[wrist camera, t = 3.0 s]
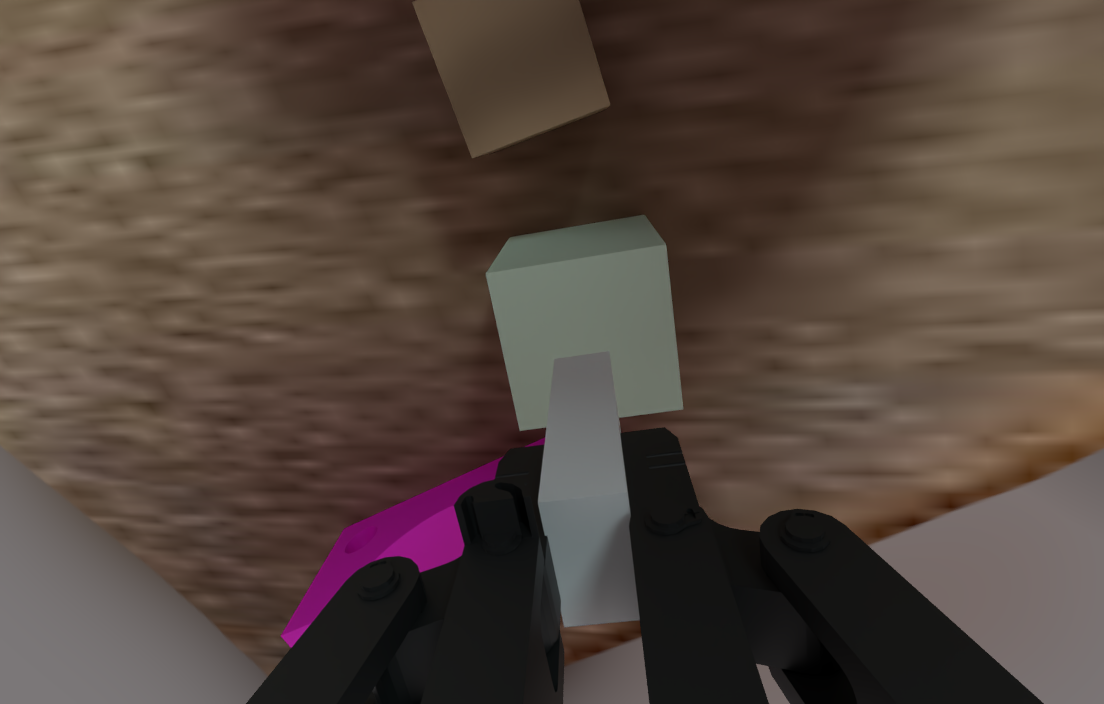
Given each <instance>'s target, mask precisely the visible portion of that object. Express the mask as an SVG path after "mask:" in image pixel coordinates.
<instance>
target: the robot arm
mask: <svg viewBox="0 0 1104 704" xmlns="http://www.w3.org/2000/svg"><path fill="white" fill-rule="evenodd" d="M454 509H455V512H456V516H457V520H458V523H459V527H460V531H461V534H462V538H463V542H464V549H463V552H462V555H461V556H460V557H458V558H457V559H455V560H453V561H451V562H448V563H446V564H443V565H441V566H438V567H435V568H432V569H429V570H426V571H423V572H420V571H419V568H418V565H417V564H416V563H415V562H414V561H413V560H412V559H410V558H406V557H402V556H393V557H385V558H382V559H379V560H376V561H373V562H370V563H369V564H367V565H365V566H363V567H362V568H360V569H358V570H357V571H356V572H355V573H354V574H353V575H351V576H350V577H349V578H348V579H347V580H346V581H345V582H344V584H343V585H342V586H341V587H340V589H339V590H338V591H337V592H336V594H335V595H334V596H333V597H332V598H331V600H330V601H329V602H328V603H327V605H326V606H325V607H324V608H323V610H322V611H321V612H320V613H319V614H318V616H317V617H316V618H315V619H314V621H313V622H312V623H311V624H310V626H309V627H308V628H307V629H306V630H305V632H304V633H303V634H302V635H301V637H300V638H299V639H298V640H297V642H296V643H295V644H294V645H293V647H292V648H291V649H290V650H289V651H288V653H287V654H286V655H285V656H284V658H283V659H282V660H281V661H280V663H279V664H278V665H277V666H276V667H275V669H274V670H273V671H272V672H271V674H270V675H269V676H268V677H267V679H266V680H265V681H264V682H263V683H262V685H261V686H260V687H259V689H258V690H257V691H256V692H255V693H254V695H253V696H252V697H251V698H250V699H249V701H248V702H247V703H246V704H563V684H564V648H563V643H562V638H561V634H560V611H561V614H562V619H563V623H564V627H573V626H583V625H594V624H604V623H615V622H625V621H636V620H640V626H641V634H642V643H643V651H644V660H645V668H646V677H647V686H648V694H649V703H650V704H769V703H768V700H767V697H766V693H765V690H764V687H763V684H762V681H761V678H760V675H759V672H758V669H757V666H756V664H761V665H766V666H768V667H769V669H770V672H771V675H772V677H773V678H774V679H775V681H776V682H777V684H778V686H779V687H780V689H781V690H782V692H783V693H784V695H785V697H786V698H787V700H788V701H789V703H790V704H1044V703H1042V702H1041V701H1040V700H1039V699H1038V698H1037V697H1036V696H1034V694H1032V693H1031V692H1030V691H1029V690H1028V689H1027V688H1026V687H1025V686H1023V685H1022V684H1021V683H1020V682H1019V681H1018V680H1017V679H1016V678H1015V677H1014V676H1012V675H1011V674H1010V673H1009V672H1008V671H1007V670H1006V669H1005V668H1003V667H1002V666H1001V665H1000V664H999V663H998V662H997V661H996V660H995V659H993V658H992V657H991V656H990V655H989V654H988V653H987V652H985V650H983V649H982V648H981V647H980V646H979V645H978V644H977V643H976V642H975V641H973V640H972V639H971V638H970V637H969V636H968V635H967V634H966V633H965V632H963V631H962V630H961V629H960V628H959V627H958V626H957V625H956V624H955V623H953V622H952V621H951V620H950V619H949V618H948V617H947V616H945V615H944V614H943V613H942V612H941V611H940V610H939V609H938V608H937V607H936V606H934V605H933V604H932V603H931V602H930V601H929V600H928V599H927V598H925V597H924V596H923V595H922V594H921V593H920V592H919V591H918V590H917V589H916V588H914V587H913V586H912V585H911V584H910V583H909V582H908V581H907V580H905V579H904V578H903V577H902V576H901V575H900V574H899V573H898V572H897V571H896V570H894V569H893V568H892V567H891V566H890V565H889V564H888V563H887V562H885V561H884V560H883V559H882V558H881V557H880V556H879V555H878V554H876V553H875V552H874V551H873V550H872V549H871V548H870V547H869V546H868V545H867V544H865V543H864V542H863V541H862V540H861V539H860V538H859V537H858V536H857V535H855V534H854V533H853V532H852V531H851V530H850V529H849V528H848V527H847V526H845V525H844V524H843V523H841V522H840V521H838V520H837V519H835V518H833V517H832V516H830V515H826V514H823V513H820V512H817V511H813V510H803V509H793V510H786V511H780V512H778V513H776V514H774V515H772V516H769V517H768V518H767V519H766V520H765V521H764V522H763V524H762V525H761V527H760V532H755V531H746V530H739V529H734V528H729V527H726V526H723V525H720V524H718V523H716V522H714V521H713V520H711V519H709V518H708V516H707V515H706V513H705V512H704V510H703V509H702V508H701V507H699V504H698V501H697V498H696V495H695V492H694V488H693V485H692V482H691V479H690V476H689V473H688V469H687V466H686V464H685V460H684V457H683V454H682V450H681V447H680V444H679V441H678V438H677V437H676V436H675V435H674V434H672V433H671V432H670V431H668V430H667V429H666V428H665V427H664V428H656V429H648V430H640V431H632V432H625V433H621V428H620V421H619V415H618V408H617V401H616V394H615V388H614V381H613V374H612V367H611V360H610V354H609V351H606V352H599V353H592V354H586V355H579V356H572V357H565V358H558V359H554V367H553V376H552V384H551V393H550V402H549V410H548V419H547V427H546V436H545V444H544V445H536V446H529V447H521V448H513V449H510V450H509V451H508V452H507V453H506V454H505V455H504V457H503V458H502V459H501V460H500V461H499V463H498V467H497V471H496V475H495V479H494V480H490V481H486V482H482V483H480V484H478V485H476V486H473V487H471V488H469V489H468V490H467V491H466V492H464V493H463V494H462V495H460V496H459V498H458V499H457V501H456V503H455V504H454Z"/></svg>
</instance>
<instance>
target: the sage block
mask: <svg viewBox="0 0 1104 704" xmlns="http://www.w3.org/2000/svg"><path fill="white" fill-rule="evenodd" d="M486 278H487V282H488V287H489V291H490V296H491V301H492V305H493V310H494V314H495V319H496V324H497V328H498V333H499V337H500V342H501V347H502V351H503V356H504V360H505V365H506V370H507V374H508V379H509V384H510V388H511V393H512V397H513V402H514V407H515V411H516V416H517V420H518V425H519V430H520V431H523V430H531V429H538V428H546V427H547V419H548V410H549V402H550V393H551V384H552V376H553V367H554V359H558V358H565V357H572V356H579V355H586V354H592V353H599V352H606V351H609V354H610V360H611V367H612V374H613V381H614V388H615V394H616V401H617V408H618V415H619V418H622V417H629V416H637V415H645V414H652V413H660V412H667V411H675V410H682V409H683V401H682V391H681V381H680V372H679V362H678V353H677V343H676V334H675V324H674V315H673V305H672V296H671V286H670V276H669V267H668V257H667V248H666V243H665V242H664V241H663V239H662V238H661V237H660V235H659V234H658V232H657V231H656V230H655V228H654V227H653V226H652V224H651V223H650V221H649V220H648V219H647V217H646V216H645V215H639V216H633V217H627V218H621V219H615V220H609V221H603V222H597V223H591V224H585V225H579V226H573V227H568V228H562V229H556V230H550V231H544V232H538V233H532V234H526V235H520V236H514V237H509V239H508V240H507V242H506V243H505V245H504V247H503V248H502V250H501V251H500V253H499V254H498V256H497V257H496V259H495V260H494V262H493V263H492V265H491V266H490V268H489V269H488V271H487V272H486Z"/></svg>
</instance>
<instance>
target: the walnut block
mask: <svg viewBox="0 0 1104 704" xmlns="http://www.w3.org/2000/svg"><path fill="white" fill-rule="evenodd" d="M412 4H413V6H414V9H415V12H416V14H417V17H418V19H419V22H420V25H421V27H422V30H423V32H424V35H425V38H426V40H427V43H428V45H429V48H430V51H431V53H432V56H433V58H434V61H435V64H436V66H437V69H438V71H439V74H440V77H441V79H442V82H443V84H444V87H445V90H446V92H447V95H448V97H449V100H450V102H451V105H452V108H453V110H454V113H455V115H456V118H457V121H458V123H459V126H460V128H461V131H462V134H463V136H464V139H465V141H466V144H467V147H468V149H469V152H470V154H471V157H472V158H475V157H479V156H483V155H487V154H490V153H494V152H496V151H499V150H501V149H504V148H507V147H509V146H512V145H514V144H517V143H520V142H522V141H525V140H527V139H530V138H533V137H535V136H538V135H540V134H543V133H546V132H548V131H551V130H553V129H556V128H559V127H561V126H564V125H566V124H569V123H572V122H574V121H577V120H579V119H582V118H585V117H587V116H590V115H592V114H595V113H597V112H600V111H603V110H605V109H606V108H608V107H609V106H610V101H609V98H608V95H607V91H606V88H605V85H604V81H603V78H602V75H601V71H600V68H599V65H598V61H597V58H596V55H595V51H594V48H593V45H592V41H591V38H590V35H589V31H588V28H587V25H586V21H585V18H584V15H583V11H582V8H581V4H580V1H579V0H416V1H414V2H412Z"/></svg>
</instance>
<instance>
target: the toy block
mask: <svg viewBox="0 0 1104 704" xmlns="http://www.w3.org/2000/svg"><path fill="white" fill-rule="evenodd" d="M544 444H545V438H543V439H540V440H538V441H536V442H534V443H532V444H529V445H527V446H525V447H529V446H536V445H544ZM503 457H504V456H503ZM503 457H501V458H499V459H496V460H494V461H492V462H490V463H488V464H485V465H483V466H481V467H479V468H477V469H474V470H472V471H470V472H468V473H466V474H463V475H461V476H459V477H457V478H454V479H452V480H450V481H448V482H446V483H443V484H441V485H439V486H437V487H435V488H432V489H430V490H428V491H426V492H424V493H421V494H419V495H417V496H415V497H413V498H410V499H408V500H406V501H404V502H402V503H399V504H397V505H395V506H393V507H391V508H388V509H386V510H384V511H382V512H380V513H377V514H375V515H373V516H371V517H369V518H366V519H364V520H362V521H360V522H358V523H355V524H353V525H351V526H349V527H347V528H344V530H343V531H342V533H341V535H340V536H339V538H338V540H337V542H336V543H335V545H334V547H333V548H332V550H331V552H330V553H329V555H328V557H327V558H326V560H325V562H324V563H323V565H322V567H321V569H320V570H319V572H318V574H317V575H316V577H315V579H314V580H313V582H312V584H311V585H310V587H309V589H308V591H307V592H306V594H305V596H304V597H303V599H302V601H301V602H300V604H299V606H298V607H297V609H296V611H295V612H294V614H293V616H292V618H291V619H290V621H289V623H288V624H287V626H286V628H285V629H284V631H283V633H282V634H281V637H282V638H283V639H284V640H285V642H286V643H287V644H288V645H289V646H290V647H291V648H292V647H293V645H294V644H295V643H296V642H297V640H298V639H299V638H300V637H301V635H302V634H303V633H304V632H305V630H306V629H307V628H308V627H309V626H310V624H311V623H312V622H313V621H314V619H315V618H316V617H317V616H318V614H319V613H320V612H321V611H322V610H323V608H324V607H325V606H326V605H327V603H328V602H329V601H330V600H331V598H332V597H333V596H334V595H335V594H336V592H337V591H338V590H339V589H340V587H341V586H342V585H343V584H344V582H345V581H346V580H347V579H348V578H349V577H350V576H351V575H353V574H354V573H355V572H356V571H357V570H358V569H360V568H362V567H363V566H365V565H367V564H369V563H370V562H373V561H376V560H379V559H382V558H385V557H393V556H402V557H406V558H410V559H412V560H413V561H414V562H415V563H416V564H417V565H418V568H419V571H420V572H423V571H426V570H429V569H432V568H435V567H438V566H441V565H443V564H446V563H448V562H451V561H453V560H455V559H457V558H458V557H460V556H461V555H462V552H463V549H464V542H463V538H462V534H461V531H460V527H459V523H458V520H457V516H456V512H455V509H454V504H455V503H456V501H457V499H458V498H459V496H460V495H462V494H463V493H464V492H466V491H467V490H468V489H469V488H471V487H473V486H476V485H478V484H480V483H482V482H486V481H490V480H494V479H495V475H496V471H497V467H498V463H499V461H500V460H501V459H502V458H503Z"/></svg>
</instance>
